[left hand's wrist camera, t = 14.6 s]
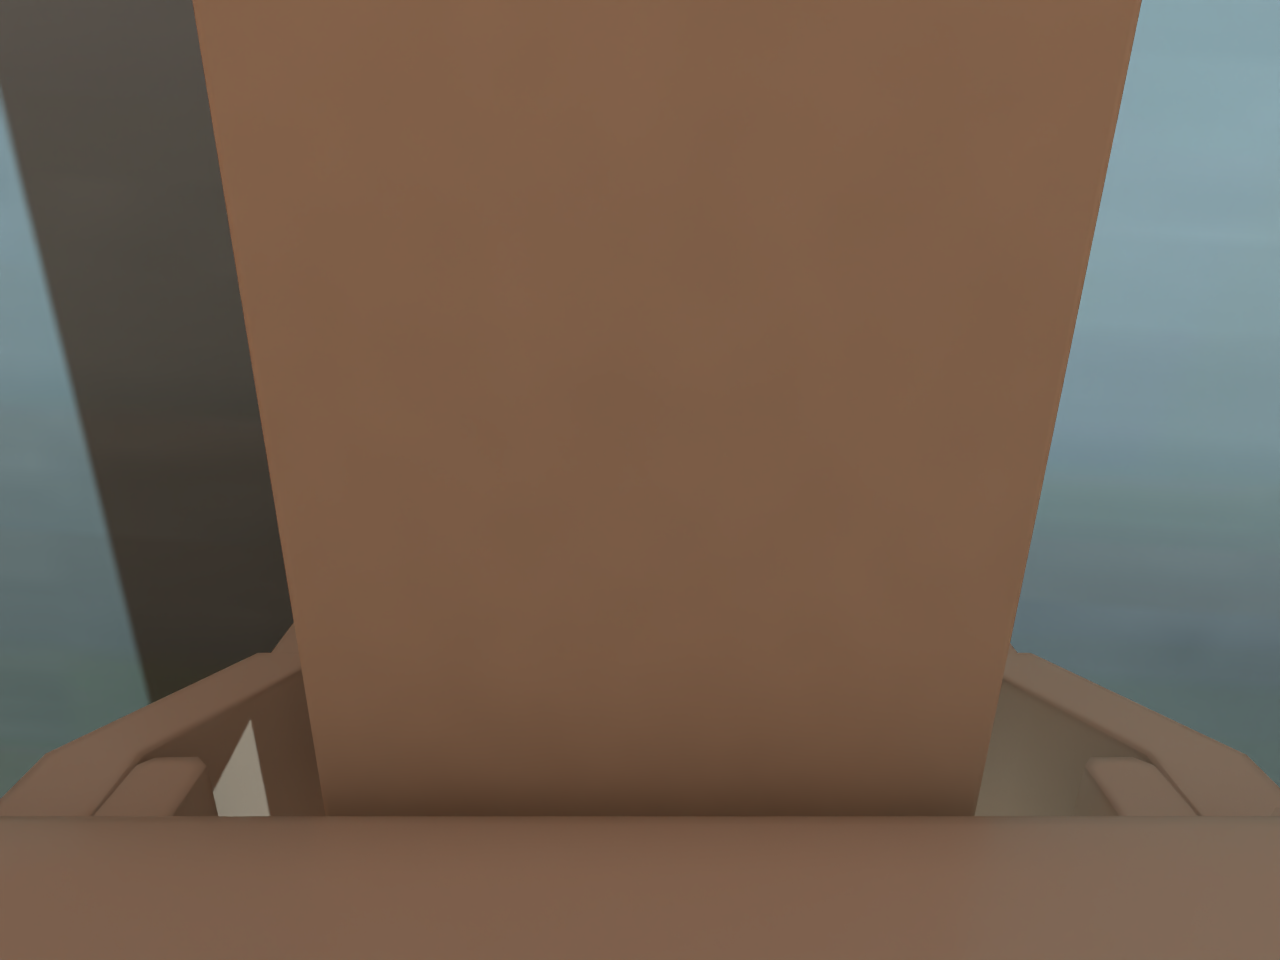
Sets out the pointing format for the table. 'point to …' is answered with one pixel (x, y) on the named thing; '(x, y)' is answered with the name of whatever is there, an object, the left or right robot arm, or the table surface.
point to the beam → (659, 382)
